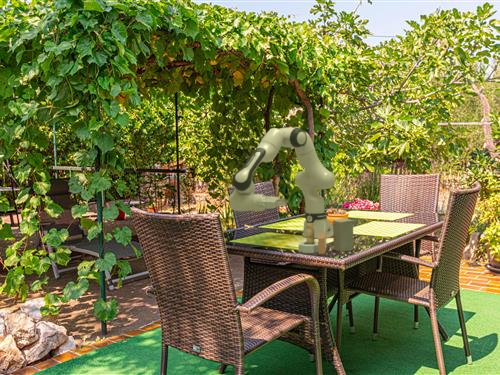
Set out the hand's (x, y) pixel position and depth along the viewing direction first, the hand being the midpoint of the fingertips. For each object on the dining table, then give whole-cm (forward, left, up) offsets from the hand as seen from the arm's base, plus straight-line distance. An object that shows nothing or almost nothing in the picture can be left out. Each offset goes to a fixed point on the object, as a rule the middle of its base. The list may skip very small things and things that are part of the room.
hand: (286, 202), depth 259 cm
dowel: (-6, +10, -25) cm, 27 cm away
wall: (-9, +16, -25) cm, 30 cm away
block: (-6, +10, -24) cm, 27 cm away
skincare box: (-16, +24, -25) cm, 38 cm away
